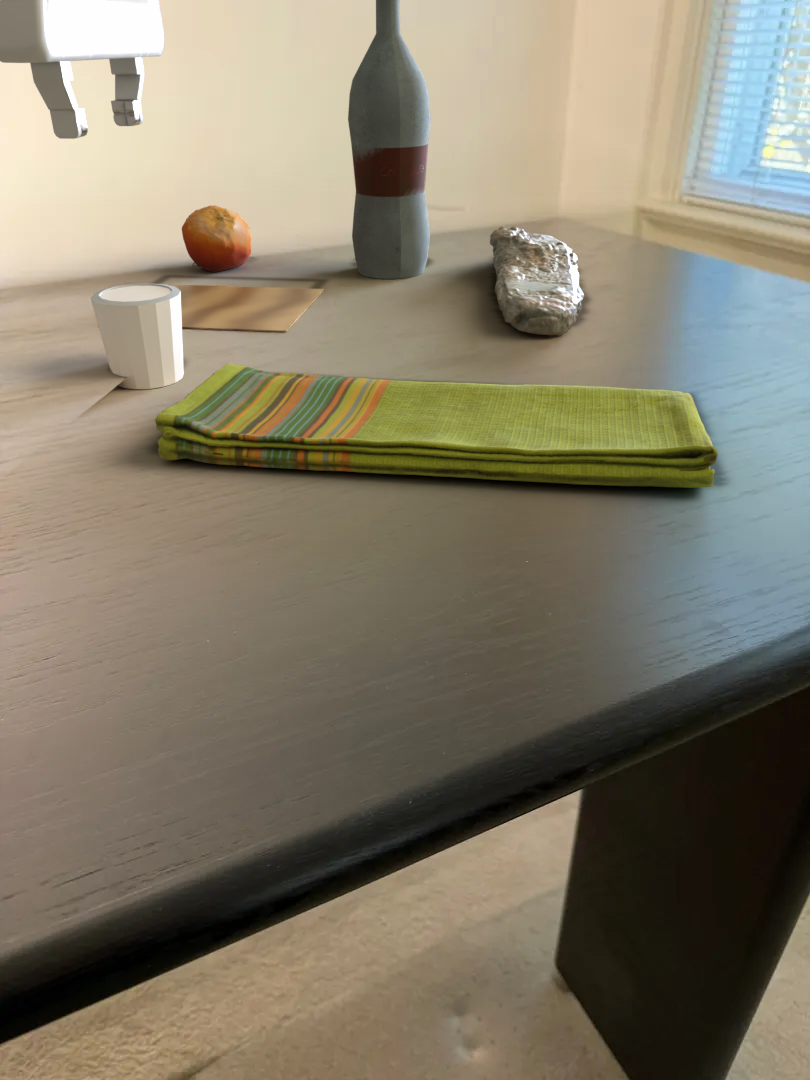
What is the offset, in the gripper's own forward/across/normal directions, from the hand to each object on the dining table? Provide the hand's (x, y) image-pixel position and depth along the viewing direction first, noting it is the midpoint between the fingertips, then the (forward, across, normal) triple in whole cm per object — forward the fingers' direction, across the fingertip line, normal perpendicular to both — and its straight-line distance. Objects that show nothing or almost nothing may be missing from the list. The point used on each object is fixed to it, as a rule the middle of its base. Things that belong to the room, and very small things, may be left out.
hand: (102, 131), depth 65 cm
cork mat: (+18, -21, 0) cm, 28 cm away
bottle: (+19, -39, +15) cm, 46 cm away
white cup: (+19, +1, +1) cm, 19 cm away
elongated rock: (+19, -31, +32) cm, 48 cm away
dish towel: (+19, +10, +26) cm, 34 cm away
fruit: (+19, -38, -6) cm, 43 cm away
